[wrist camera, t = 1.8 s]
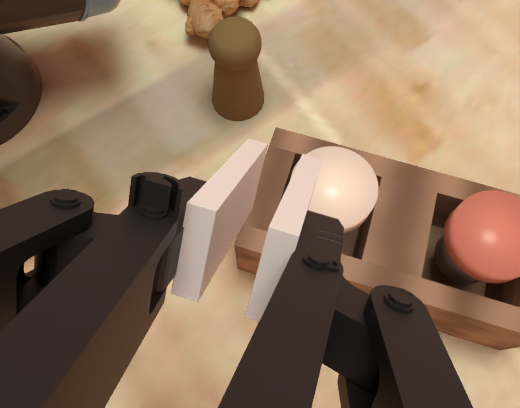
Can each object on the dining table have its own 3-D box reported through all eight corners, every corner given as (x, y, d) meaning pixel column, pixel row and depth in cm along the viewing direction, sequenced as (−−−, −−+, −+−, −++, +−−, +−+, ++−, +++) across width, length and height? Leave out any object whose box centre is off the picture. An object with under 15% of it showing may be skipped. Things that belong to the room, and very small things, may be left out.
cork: (238, 68, 56) (234, -5, 46) (275, 98, 55) (279, 30, 44) (201, 98, 55) (188, 30, 44) (237, 130, 53) (233, 68, 43)
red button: (416, 281, 42) (446, 261, 35) (430, 211, 44) (460, 180, 38) (496, 305, 41) (541, 289, 34) (505, 232, 43) (549, 204, 37)
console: (237, 268, 47) (234, 245, 40) (272, 165, 51) (275, 127, 44) (500, 350, 44) (549, 341, 37) (513, 234, 49) (560, 206, 41)
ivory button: (275, 239, 43) (279, 212, 37) (296, 173, 46) (303, 136, 39) (350, 261, 42) (367, 238, 36) (367, 193, 45) (386, 159, 38)
